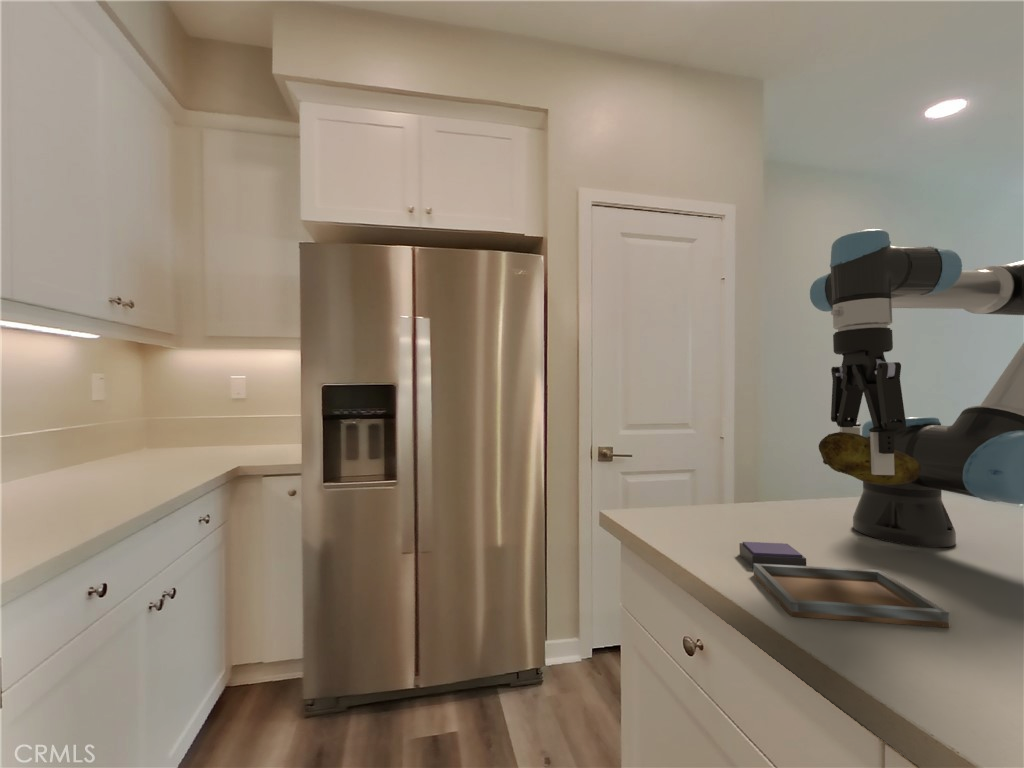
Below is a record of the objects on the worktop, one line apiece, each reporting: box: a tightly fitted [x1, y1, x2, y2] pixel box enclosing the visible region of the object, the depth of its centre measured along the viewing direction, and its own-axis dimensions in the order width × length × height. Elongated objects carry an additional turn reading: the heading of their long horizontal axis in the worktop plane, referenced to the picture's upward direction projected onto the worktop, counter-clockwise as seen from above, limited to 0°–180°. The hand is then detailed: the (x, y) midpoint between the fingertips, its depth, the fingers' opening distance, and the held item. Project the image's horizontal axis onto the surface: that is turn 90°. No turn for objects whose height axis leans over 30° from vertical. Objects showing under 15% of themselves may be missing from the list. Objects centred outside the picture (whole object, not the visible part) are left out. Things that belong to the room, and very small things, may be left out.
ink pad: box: [739, 541, 807, 569], centre depth 73 cm, size 8×6×2 cm
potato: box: [818, 431, 921, 485], centre depth 70 cm, size 8×13×8 cm, turn 52°
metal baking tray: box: [753, 563, 950, 628], centre depth 60 cm, size 18×13×2 cm
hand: (865, 469), depth 70 cm, fingers closed on potato, 7 cm apart
